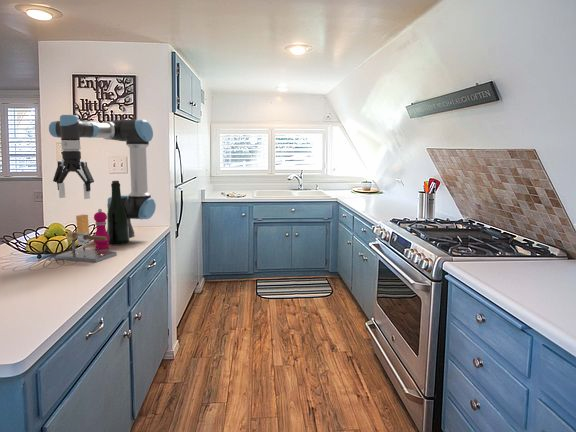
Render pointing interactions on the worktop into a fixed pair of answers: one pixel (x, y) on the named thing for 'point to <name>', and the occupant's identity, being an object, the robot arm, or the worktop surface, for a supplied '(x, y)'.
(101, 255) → the bolt plate
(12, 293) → the worktop surface
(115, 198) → the beer bottle
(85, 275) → the worktop surface
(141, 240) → the worktop surface
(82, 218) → the block
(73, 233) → the wooden rod with block
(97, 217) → the pepper mill
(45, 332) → the worktop surface
